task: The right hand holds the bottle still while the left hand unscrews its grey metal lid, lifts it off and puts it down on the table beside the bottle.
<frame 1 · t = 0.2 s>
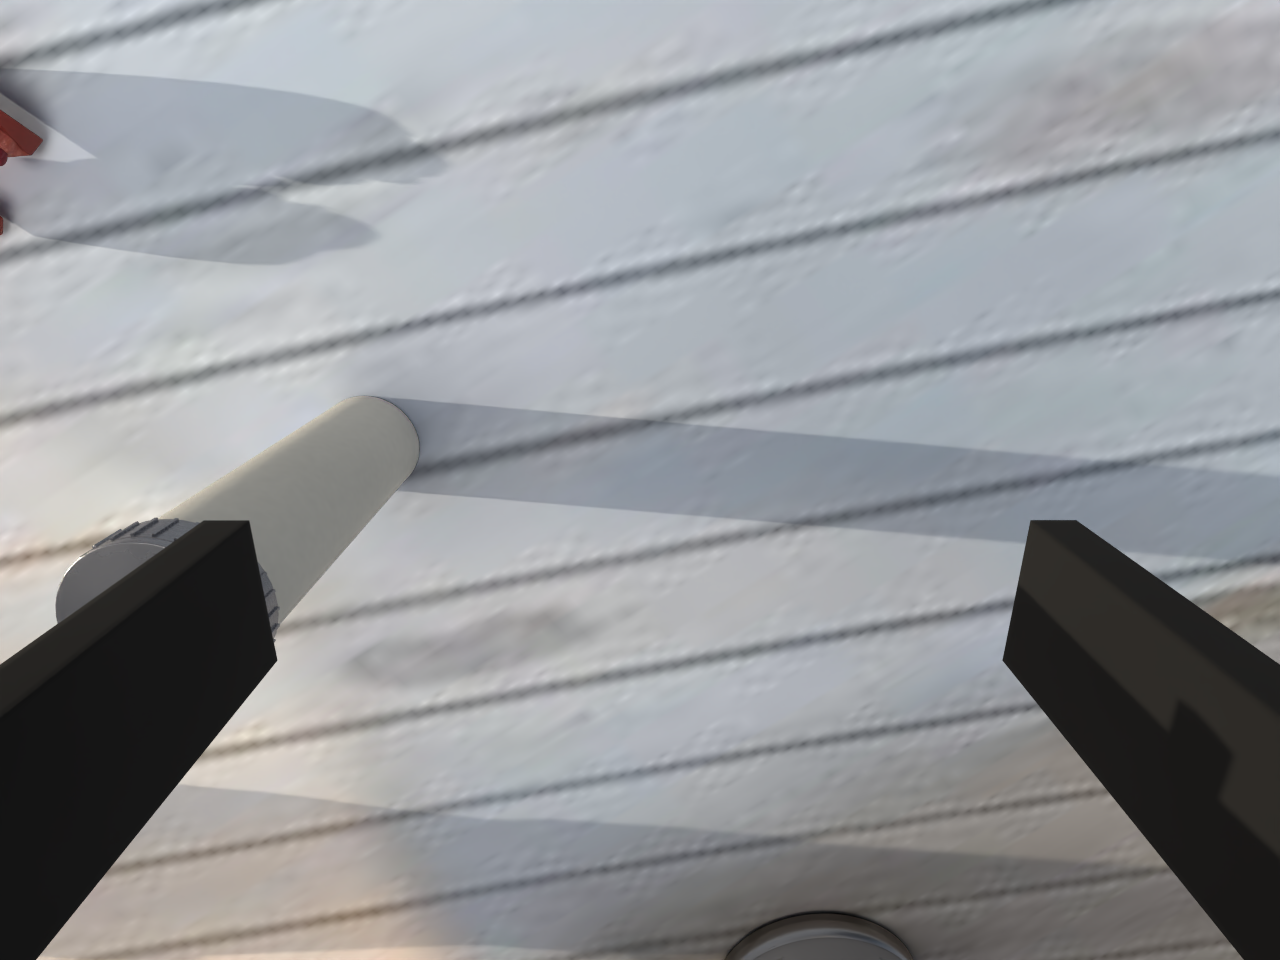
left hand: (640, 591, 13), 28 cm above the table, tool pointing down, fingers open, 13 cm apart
lid: (161, 623, 23), point 19 cm above the table, screwed on, not yet turned
bottle: (370, 443, 41), on the table
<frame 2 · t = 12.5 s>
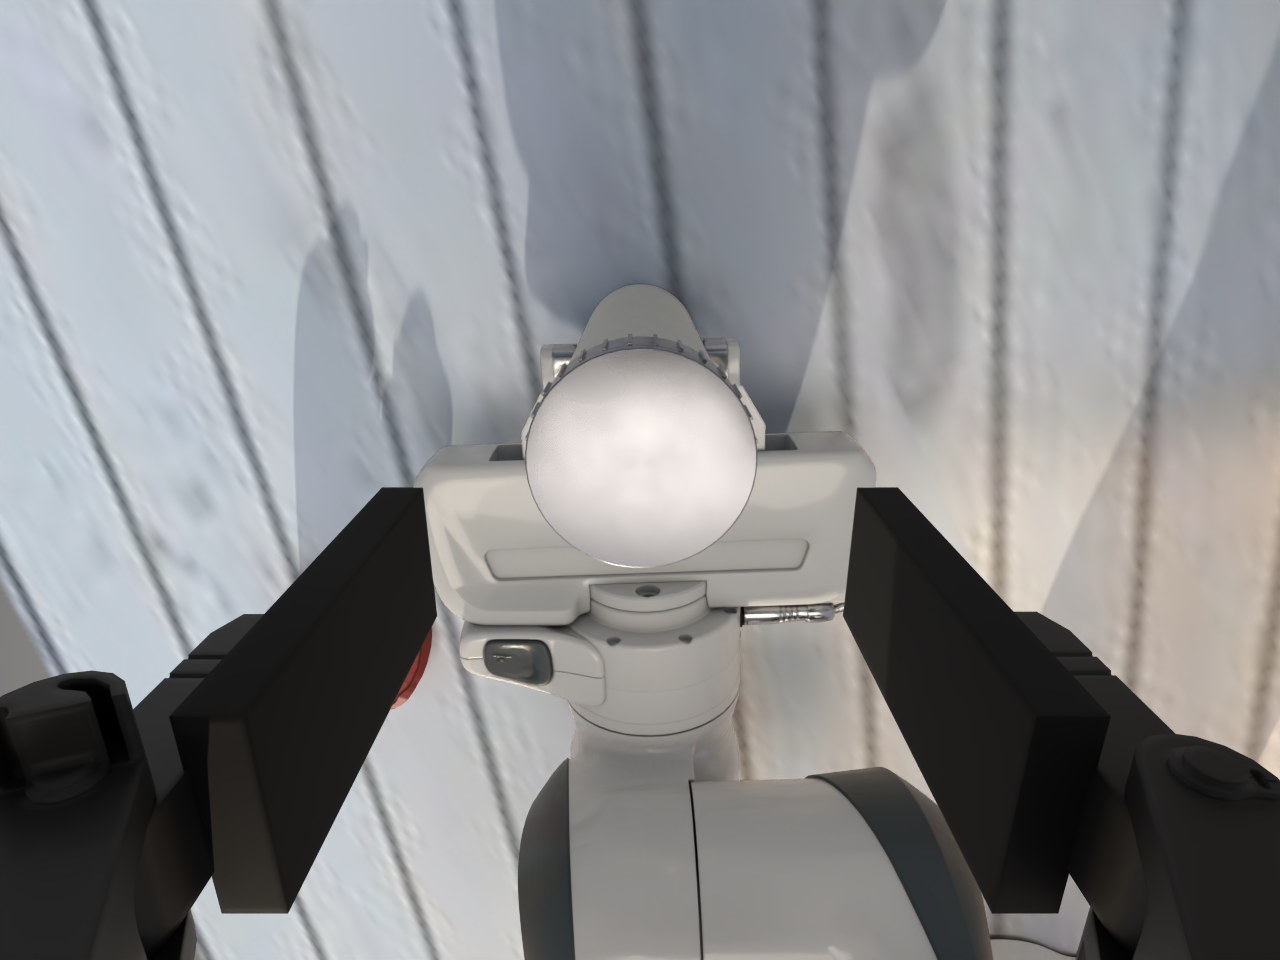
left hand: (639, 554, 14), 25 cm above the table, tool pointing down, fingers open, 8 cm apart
dental model: (367, 626, 43), on the table
lid: (641, 459, 19), point 19 cm above the table, screwed on, not yet turned
bottle: (640, 339, 37), on the table, touching right hand
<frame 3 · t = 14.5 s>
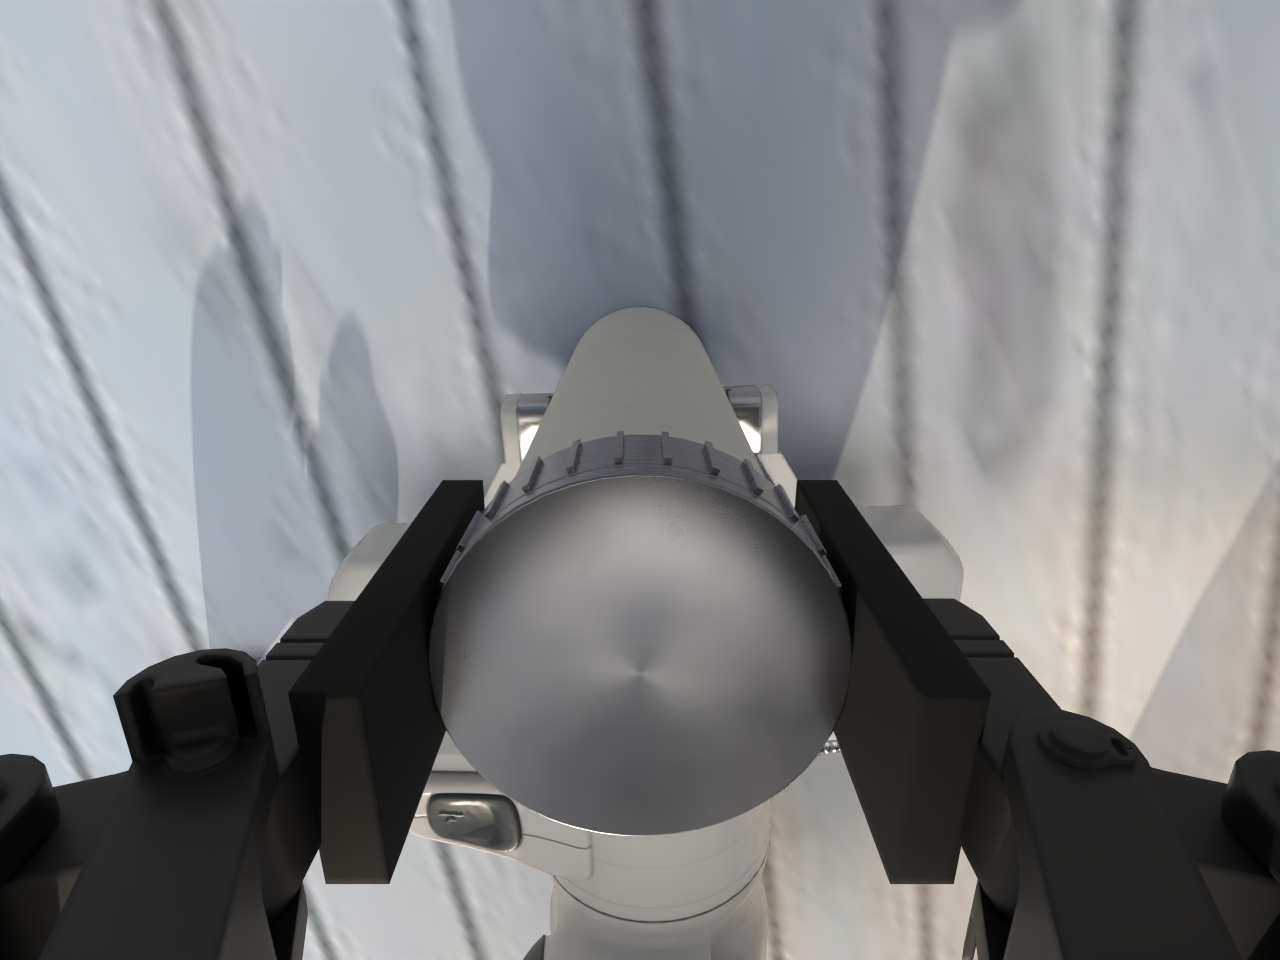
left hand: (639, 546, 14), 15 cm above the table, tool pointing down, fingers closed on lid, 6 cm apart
lid: (640, 659, 11), point 19 cm above the table, screwed on, not yet turned, touching left hand
bottle: (639, 378, 28), on the table, touching right hand
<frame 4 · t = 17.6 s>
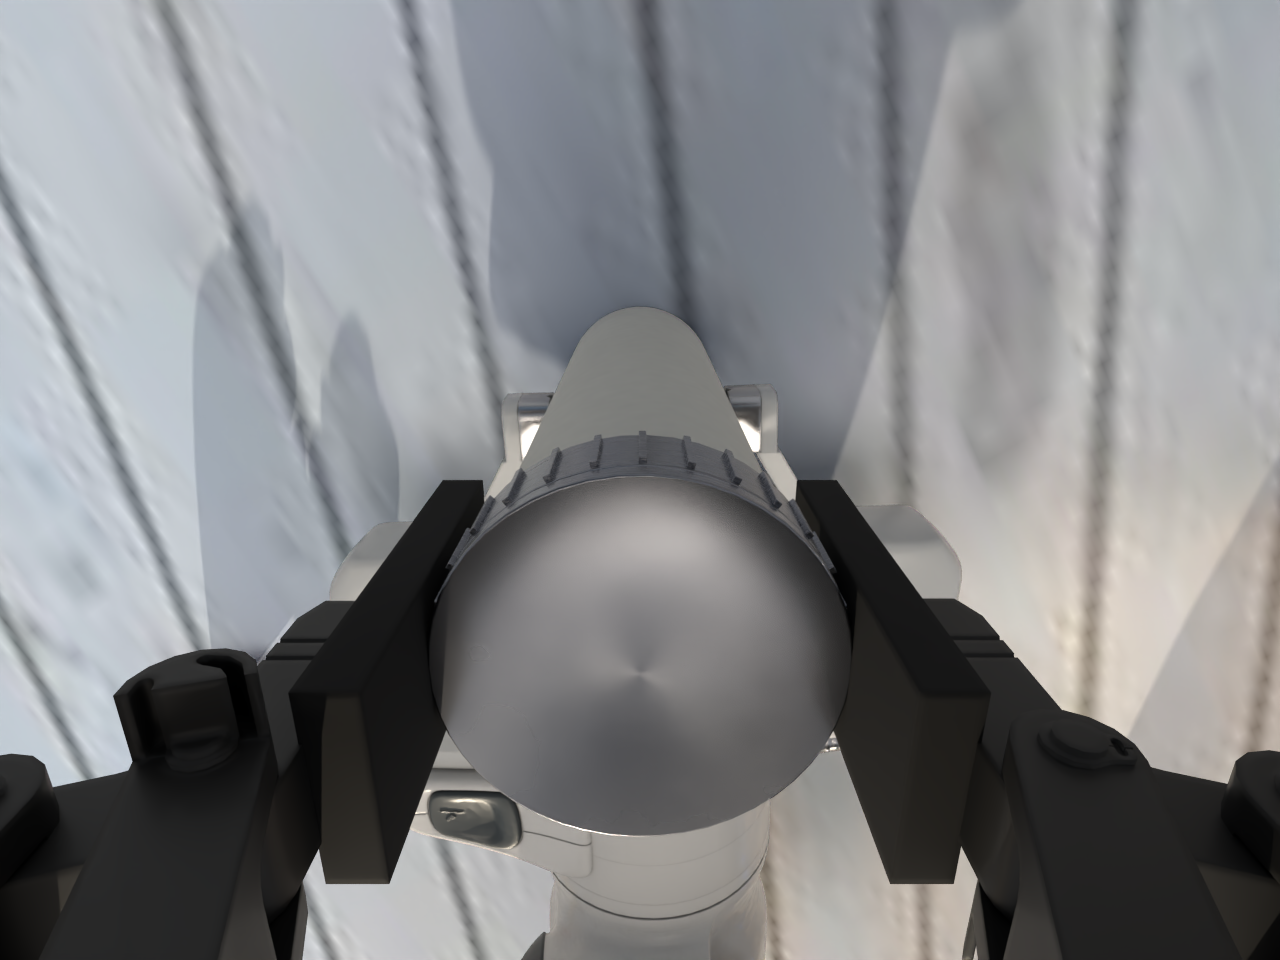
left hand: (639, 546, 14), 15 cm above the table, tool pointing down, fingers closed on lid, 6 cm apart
lid: (640, 659, 11), point 19 cm above the table, turned 93° so far, risen 0.1 cm, still on its thread, touching left hand
bottle: (640, 377, 29), on the table, touching right hand
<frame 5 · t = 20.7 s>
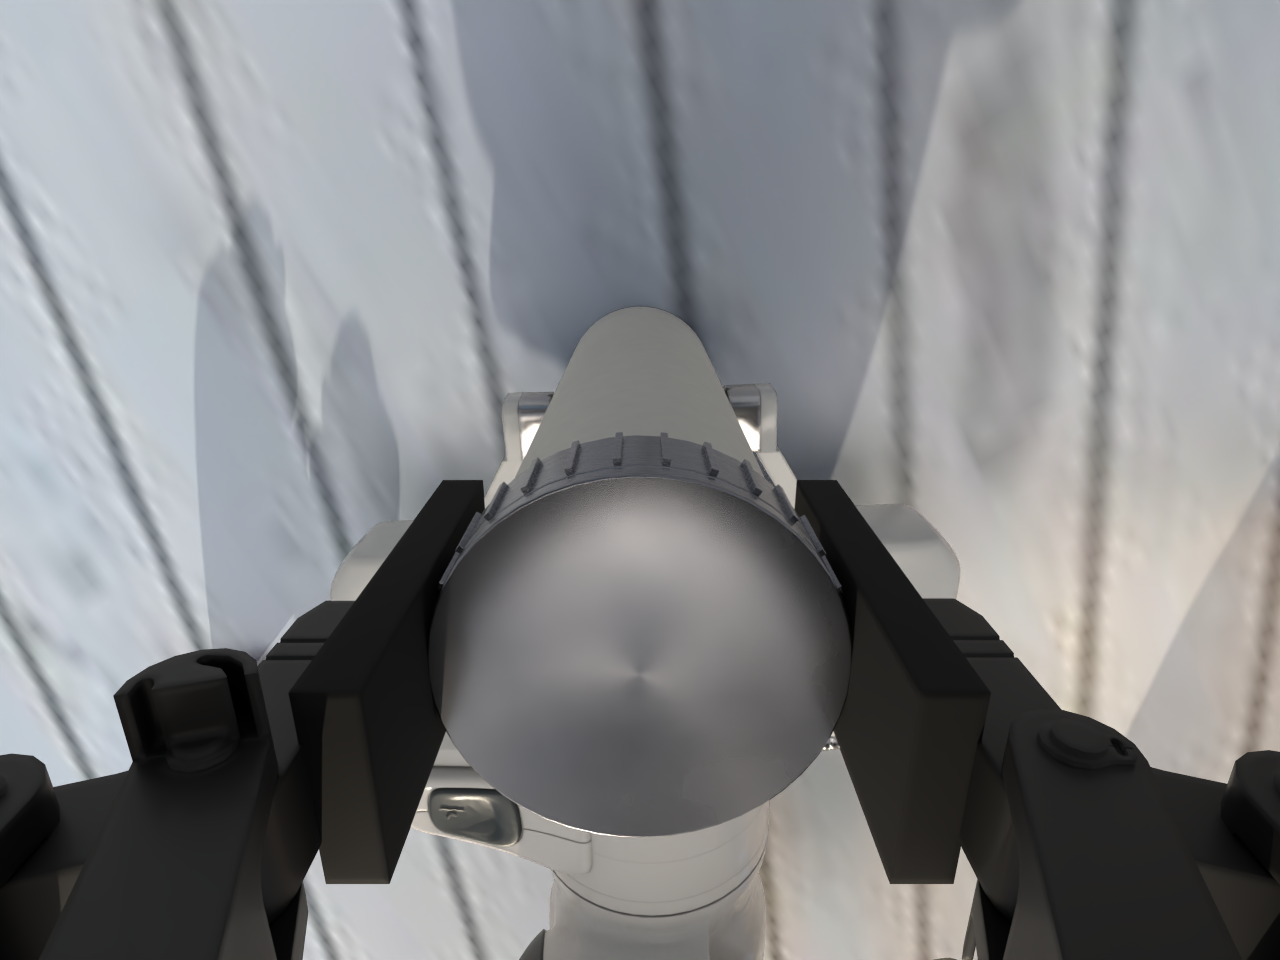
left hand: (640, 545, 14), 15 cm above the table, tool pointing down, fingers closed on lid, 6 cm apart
lid: (639, 660, 11), point 19 cm above the table, turned 187° so far, risen 0.2 cm, still on its thread, touching left hand
bottle: (640, 377, 29), on the table, touching right hand
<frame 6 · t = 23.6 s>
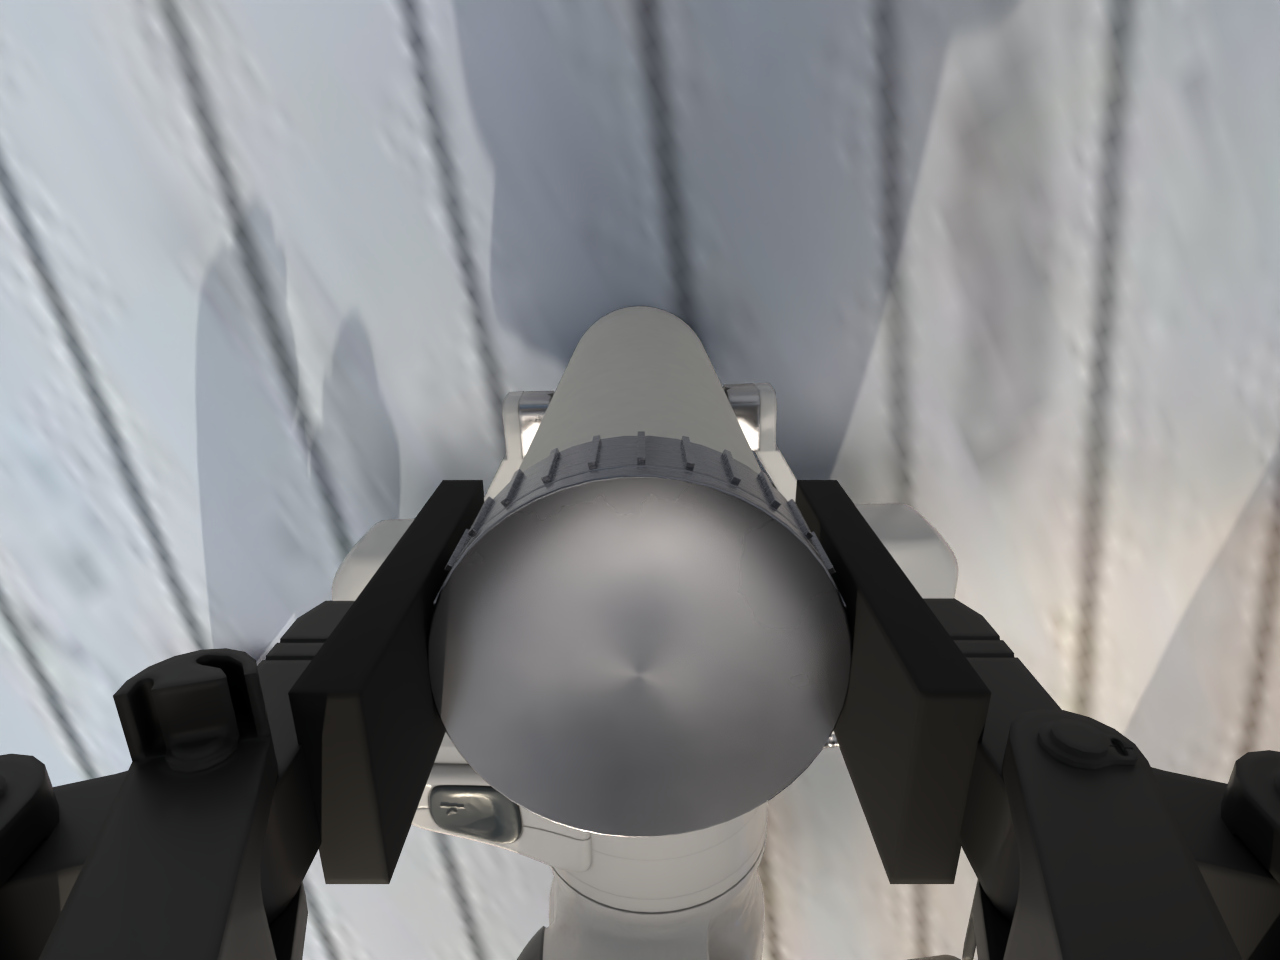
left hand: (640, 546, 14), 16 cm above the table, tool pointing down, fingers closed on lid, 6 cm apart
lid: (639, 660, 11), point 19 cm above the table, turned 280° so far, risen 0.3 cm, still on its thread, touching left hand
bottle: (639, 376, 29), on the table, touching right hand
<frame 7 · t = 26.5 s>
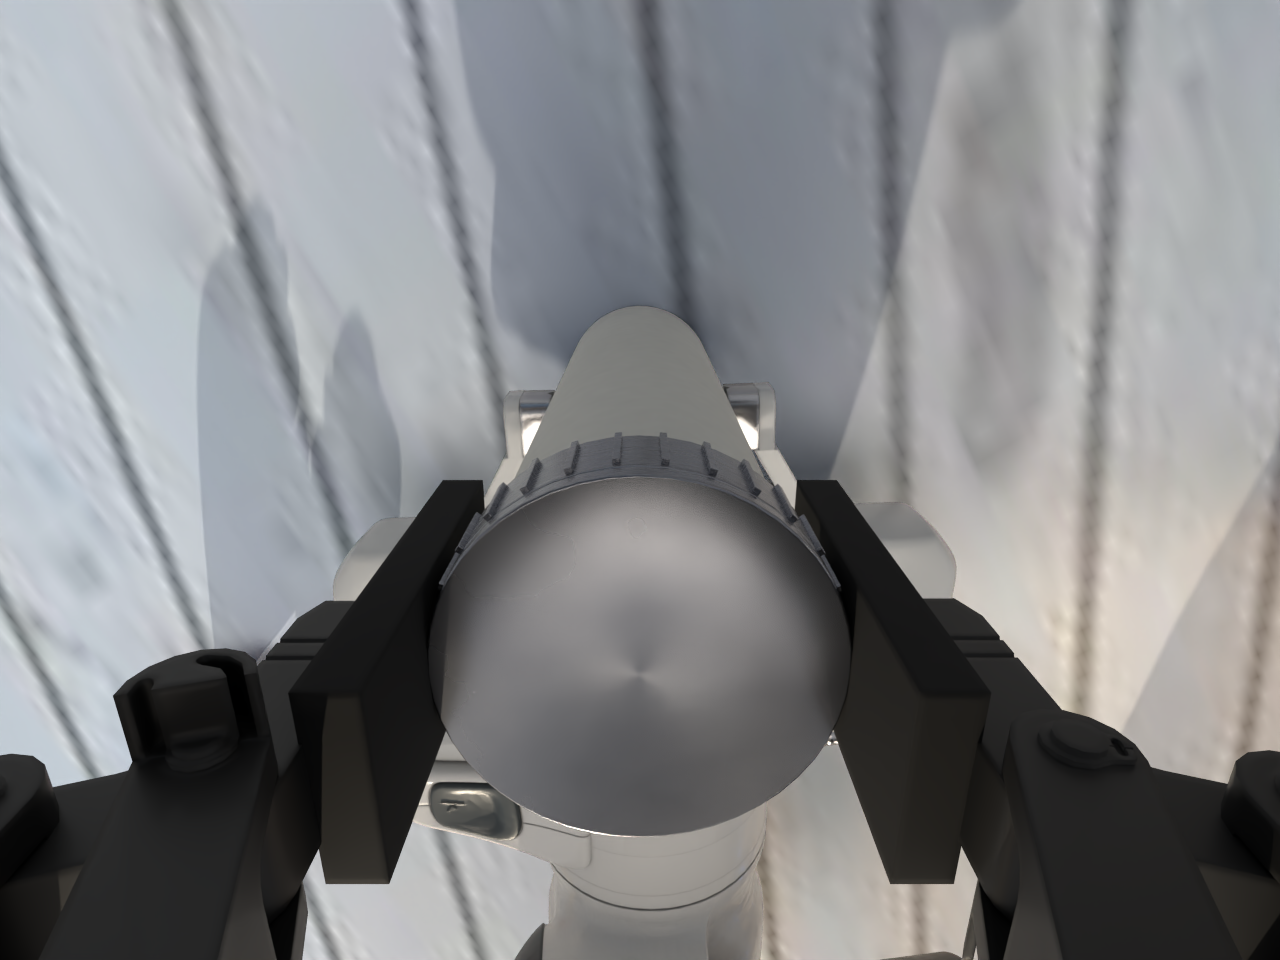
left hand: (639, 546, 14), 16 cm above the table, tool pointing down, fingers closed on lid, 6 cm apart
lid: (639, 660, 11), point 19 cm above the table, turned 373° so far, risen 0.5 cm, still on its thread, touching left hand
bottle: (639, 376, 29), on the table, touching right hand
when the left hand's fingers open (0 cm above the table, at t = 32.9 s): lid drops 3 cm, point 1 cm above the table.
when the right hand's fingers open (6 cm above the table, at t = 34.0 s): bottle stays where it is, on the table.
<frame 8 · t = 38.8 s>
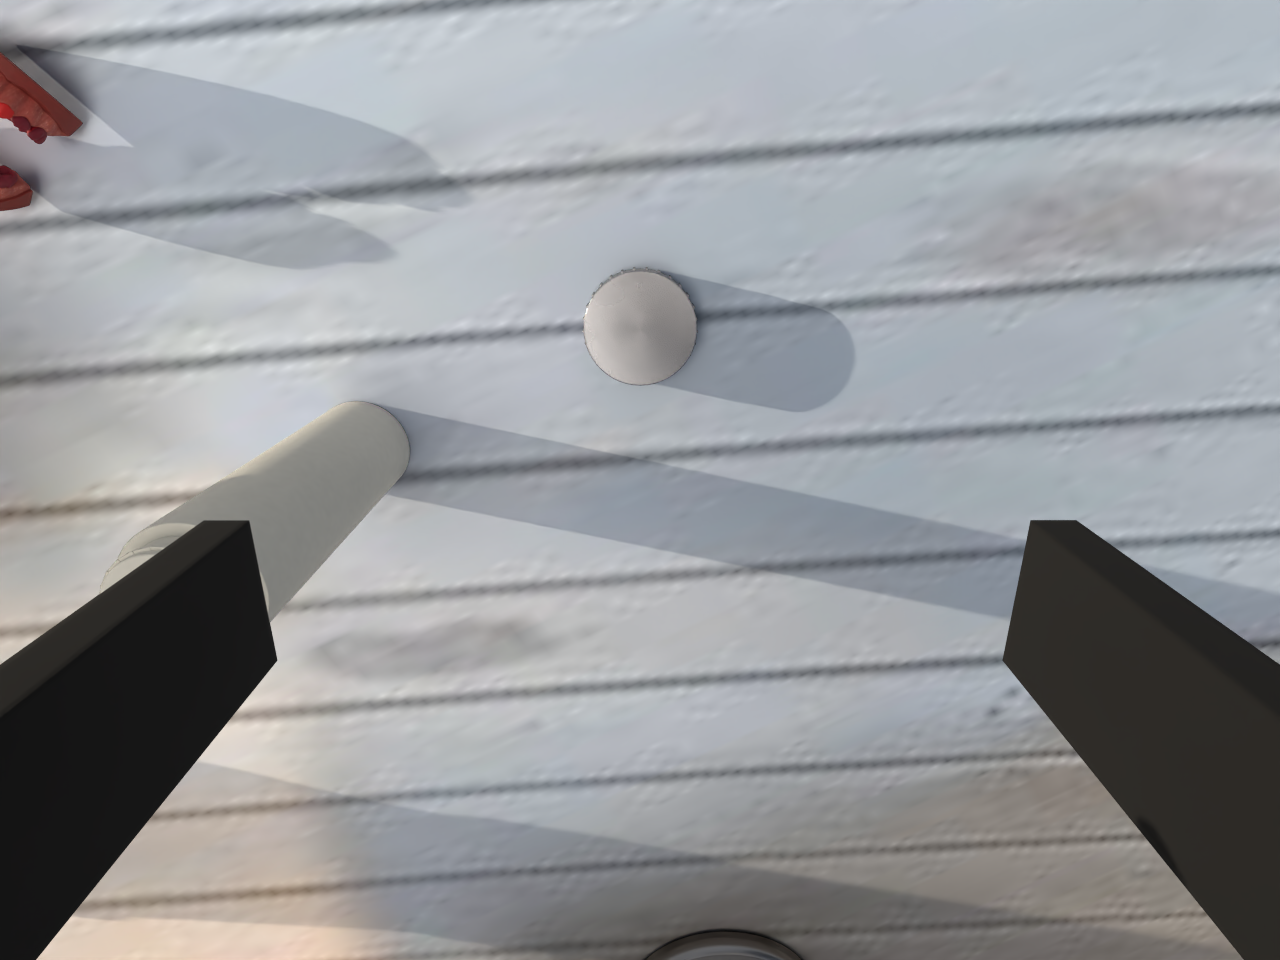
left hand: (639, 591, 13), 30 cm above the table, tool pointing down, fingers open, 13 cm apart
dental model: (9, 124, 37), on the table
lid: (640, 328, 39), point 1 cm above the table, off its thread
bottle: (363, 446, 43), on the table
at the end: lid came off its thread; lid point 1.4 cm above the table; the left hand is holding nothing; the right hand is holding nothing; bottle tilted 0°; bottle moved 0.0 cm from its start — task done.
